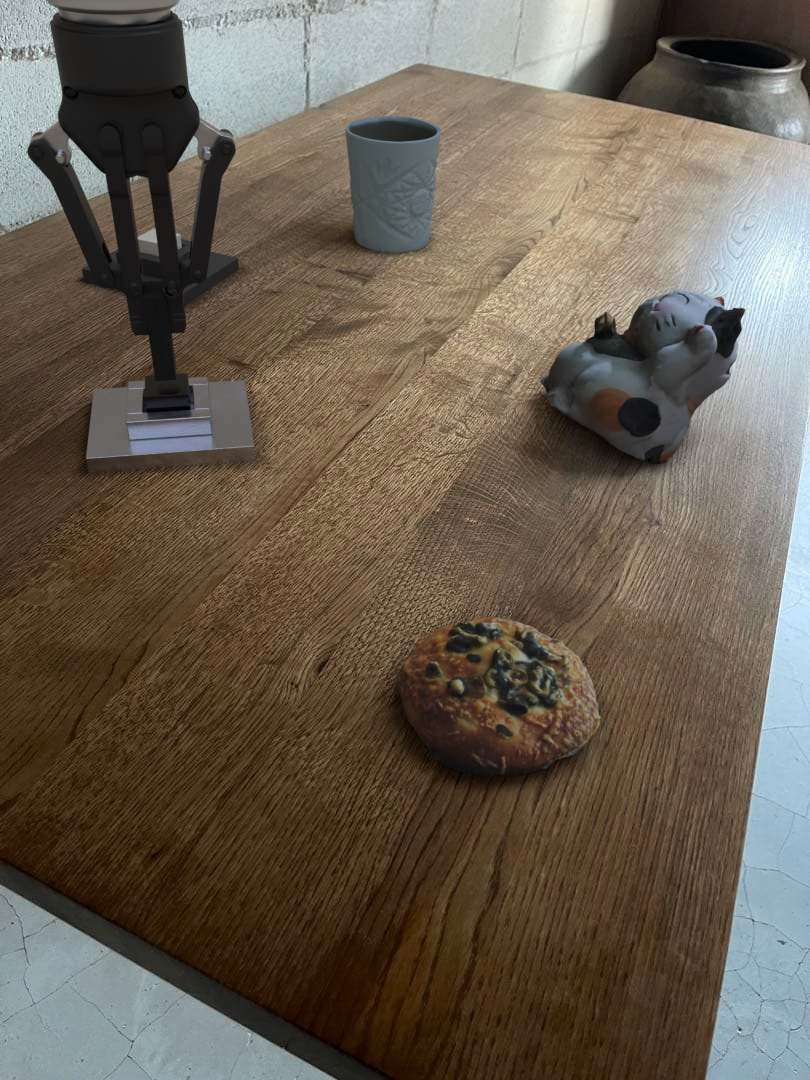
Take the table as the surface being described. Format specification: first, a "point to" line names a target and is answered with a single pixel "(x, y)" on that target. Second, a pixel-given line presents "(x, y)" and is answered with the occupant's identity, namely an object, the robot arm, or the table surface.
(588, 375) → the lucky cat figurine
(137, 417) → the grey holder base
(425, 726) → the bread roll
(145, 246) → the back key
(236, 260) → the back keypad
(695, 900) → the table surface
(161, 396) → the front key
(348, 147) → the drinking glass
